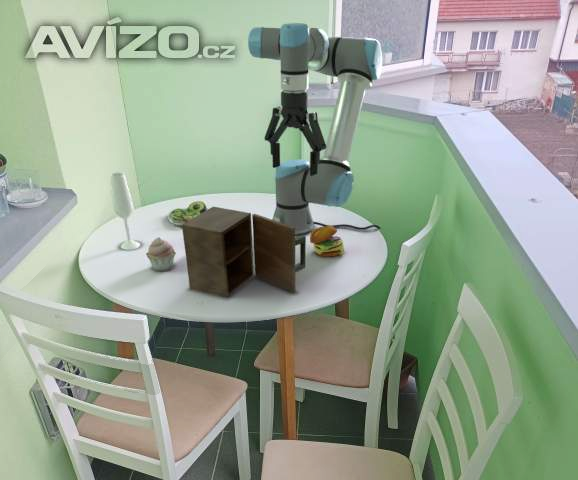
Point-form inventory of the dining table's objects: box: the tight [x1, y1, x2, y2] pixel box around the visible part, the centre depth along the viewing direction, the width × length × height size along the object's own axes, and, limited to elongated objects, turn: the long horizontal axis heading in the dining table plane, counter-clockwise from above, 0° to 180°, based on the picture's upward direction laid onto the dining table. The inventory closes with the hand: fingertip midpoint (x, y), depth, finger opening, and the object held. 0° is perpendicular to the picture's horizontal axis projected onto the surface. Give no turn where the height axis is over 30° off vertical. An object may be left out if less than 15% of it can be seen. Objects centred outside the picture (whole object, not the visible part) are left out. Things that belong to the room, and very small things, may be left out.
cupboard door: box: [251, 213, 307, 294], centre depth 167 cm, size 8×16×20 cm, turn 47°
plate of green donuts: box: [167, 200, 210, 228], centre depth 212 cm, size 19×18×5 cm
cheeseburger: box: [309, 224, 345, 258], centre depth 188 cm, size 10×11×10 cm
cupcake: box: [145, 236, 177, 272], centre depth 179 cm, size 9×9×10 cm
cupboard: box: [181, 206, 255, 299], centre depth 167 cm, size 13×16×20 cm
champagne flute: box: [109, 172, 141, 251], centre depth 188 cm, size 7×7×24 cm
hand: (294, 170), depth 167 cm, fingers open, 13 cm apart
